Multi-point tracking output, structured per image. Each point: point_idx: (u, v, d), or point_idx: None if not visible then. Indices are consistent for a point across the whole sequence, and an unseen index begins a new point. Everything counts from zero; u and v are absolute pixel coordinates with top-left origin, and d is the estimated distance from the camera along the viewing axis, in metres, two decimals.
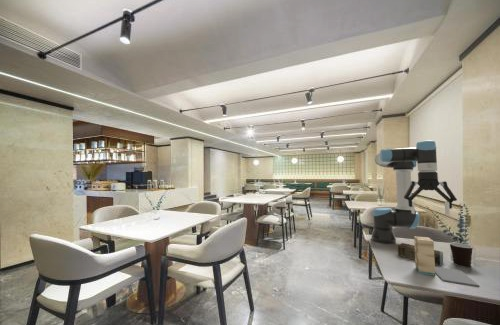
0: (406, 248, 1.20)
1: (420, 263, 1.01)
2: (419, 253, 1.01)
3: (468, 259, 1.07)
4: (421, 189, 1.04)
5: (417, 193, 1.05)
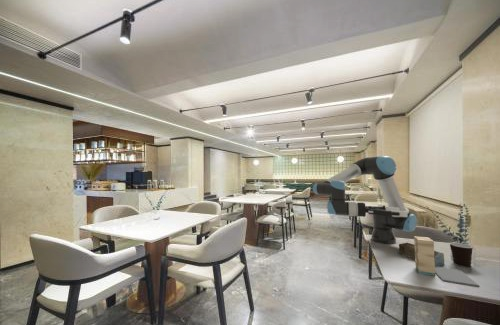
0: (405, 247, 1.22)
1: (420, 263, 1.01)
2: (419, 253, 1.01)
3: (469, 259, 1.07)
4: None
5: None
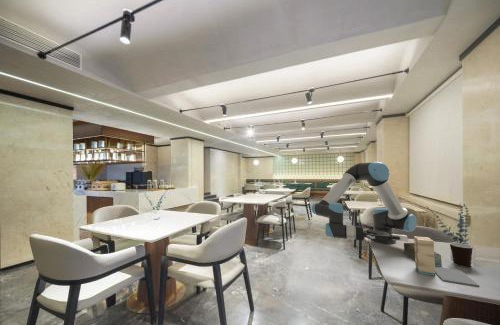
0: (408, 246, 1.24)
1: (420, 263, 1.01)
2: (419, 253, 1.01)
3: (469, 259, 1.07)
4: None
5: None
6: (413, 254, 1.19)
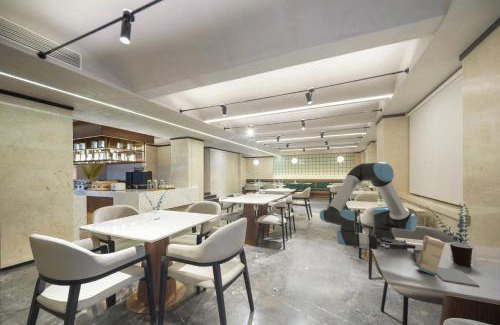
0: None
1: (423, 261, 1.00)
2: (426, 251, 1.00)
3: (469, 259, 1.07)
4: None
5: None
6: None
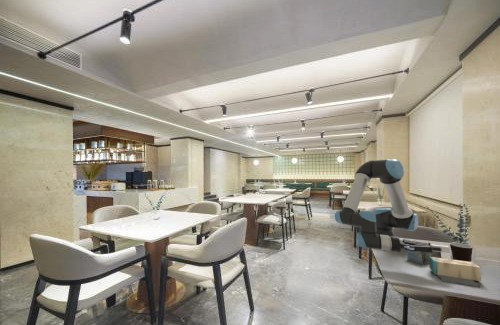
0: None
1: (447, 264, 0.97)
2: (460, 265, 0.95)
3: (469, 259, 1.07)
4: None
5: None
6: None
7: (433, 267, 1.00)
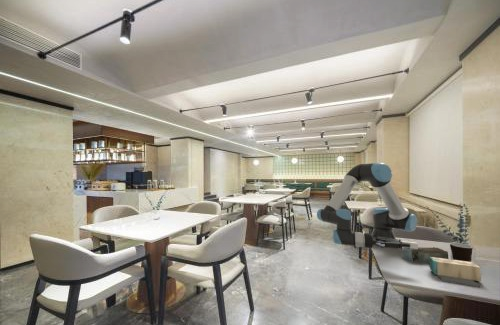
0: None
1: (447, 264, 0.97)
2: (460, 265, 0.95)
3: (468, 259, 1.07)
4: None
5: None
6: None
7: (433, 267, 1.00)
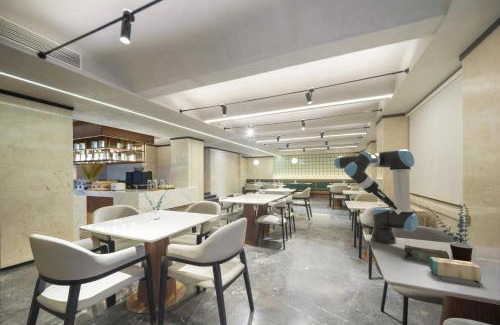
0: None
1: (447, 264, 0.97)
2: (460, 265, 0.95)
3: (469, 259, 1.07)
4: None
5: (381, 199, 1.21)
6: None
7: (433, 267, 1.00)
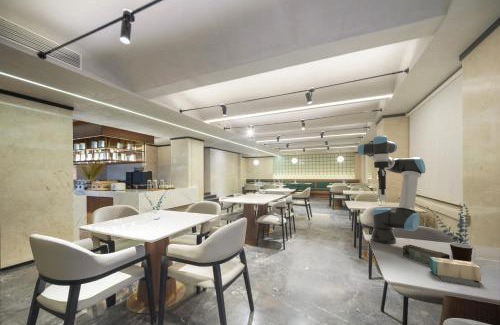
0: None
1: (447, 264, 0.97)
2: (460, 265, 0.95)
3: (469, 259, 1.07)
4: (378, 176, 1.29)
5: (379, 181, 1.28)
6: None
7: (433, 267, 1.00)
